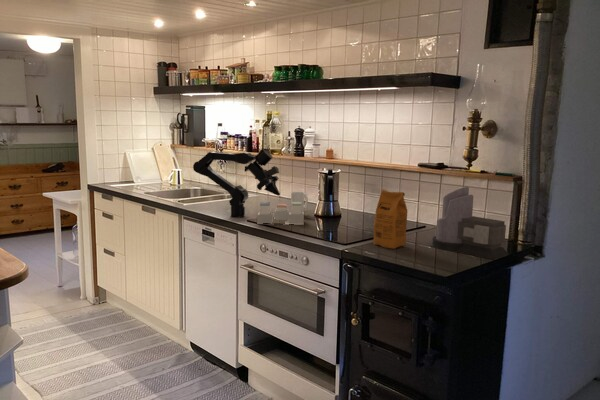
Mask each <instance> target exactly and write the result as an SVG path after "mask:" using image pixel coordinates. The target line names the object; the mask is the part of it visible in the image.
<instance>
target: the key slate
mask: <svg viewBox="0 0 600 400" xmlns="http://www.w3.org/2000/svg"><path fill="white" fill-rule="evenodd" d="M259 210H260V211H259V212H260V214H266V215H270V212H271V202H269V201H268V202H267V201H266V202H265V201H263V202H262V201H260V204H259Z"/></svg>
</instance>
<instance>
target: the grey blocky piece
mask: <svg viewBox="0 0 600 400" xmlns="http://www.w3.org/2000/svg"><path fill="white" fill-rule="evenodd" d="M469 191H470V187H469V186H465V187H461V188H458V189H456V190H454V191H451V192H449V193H447V194H446V195H444V196H443V198H442V210H441V211H442V212H441V213H442V214H441V217H439V218H438V219H437V220H436V231H435V234H436V235H435V236H433V237H432V242H430V243H429V244H428V246H429V247H432V248H435V249H438V250H442V251H447V252H457V253H463V254H465V255H467V254H468V255H472V256H475V257H481V258H485V259H490V260H494V261H495V260H497V259H500V258H503V257H507V256H510V253H509V252H508V251H507V250H506V249H505V248H504V247H503V243H505V242H506V229H507V225H506V224H505V221H504V220H498V219H493V218H486V217H479V216H473V210H474V209H473V208H474V195H473V194H469V193H470V192H469Z"/></svg>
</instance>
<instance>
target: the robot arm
mask: <svg viewBox="0 0 600 400" xmlns="http://www.w3.org/2000/svg"><path fill="white" fill-rule="evenodd" d="M271 160H273V156H272V154H271V153H270V152H269V151H267V150H265V148H261V149H260V150H259V152H258V153H257V154H256V155H254V154H252V153H251V152H247V151H246V152H237V153H232V152H231V153H230V152H229V153H228V152H219V151H218V152H215V151H209V152H207V154H205V155H204V156H203V157H201V159H199V160H198V161H196V162H193V165H192V168H193V171H194V172H195V173H197V174H199V175H201V176H204V177H206V178H208V179H210V180H211V181H212V182H214V183H215V184H217V186H219V187H220V188H222V189H224V190H225V191H226V192H227V193H228V194H229V196H230V197H231V199H230V200H228V203H229V205H230V215H229V216H230V218H243V217H244V216H246V206H245V203H246V201H247V200H248V199H249V192H248V191H247V189H246V188H244V187H243V186H242V185H234V184H233V183H231V182H230V181H229V180H227V179H226V178H224V177H223V176H221V175H220V174H219V173H217V172H216V171H215V170H214V169H213V168H212V166H211V164H212V163H213V162H214V161H227V162H234V163H237V164H239V165H240V164H241V165H245V166H244V172H250V173H251V174H252V175H253V176H254V179H255V180H257V181H258V183H257V185H256V188H257V190H258V191H262V190H263V191H266V192H269V193H271V194H274V195H276V196H277V197H279V196H280V195H281V192H280V191H279V189H278V187H277V181H279V179H280V178H279V176H277V175H276V174H280V171H279V170H280V168H279V167H278V166H276V165H275V166H272V167H271V168H270V169H268V170H267V169H264V168H263V167H262V166H265V167H266V166H267V164H268V163H269V162H270V161H271ZM247 164H248V165H247ZM264 186H265V187H264ZM262 188H263V189H262Z"/></svg>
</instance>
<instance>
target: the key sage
mask: <svg viewBox="0 0 600 400" xmlns="http://www.w3.org/2000/svg"><path fill="white" fill-rule="evenodd" d="M301 203H302V202H292V214H301Z"/></svg>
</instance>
